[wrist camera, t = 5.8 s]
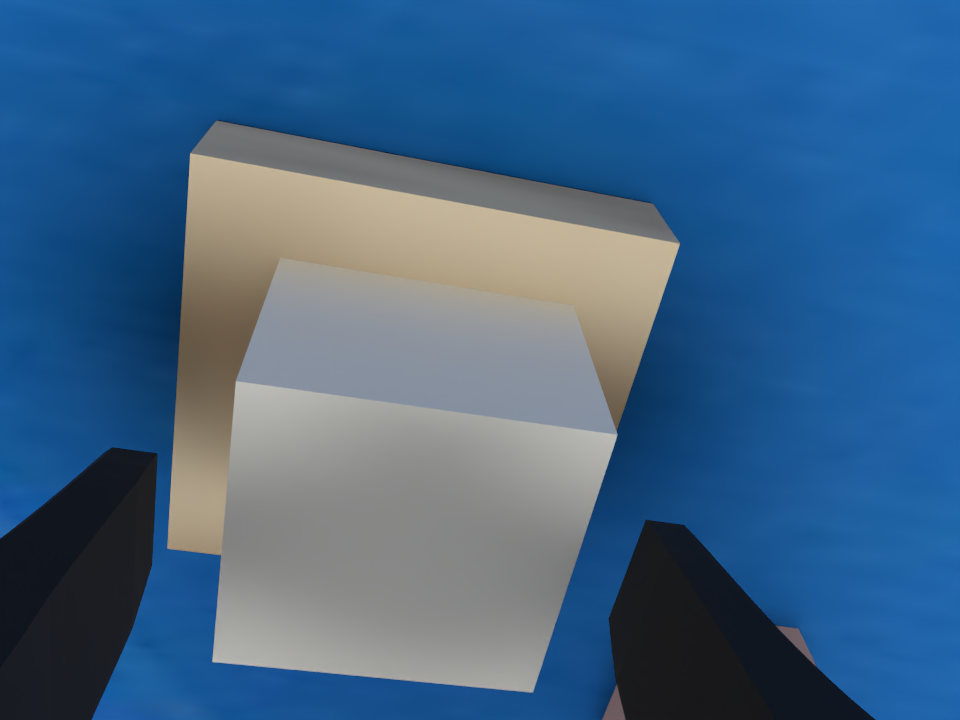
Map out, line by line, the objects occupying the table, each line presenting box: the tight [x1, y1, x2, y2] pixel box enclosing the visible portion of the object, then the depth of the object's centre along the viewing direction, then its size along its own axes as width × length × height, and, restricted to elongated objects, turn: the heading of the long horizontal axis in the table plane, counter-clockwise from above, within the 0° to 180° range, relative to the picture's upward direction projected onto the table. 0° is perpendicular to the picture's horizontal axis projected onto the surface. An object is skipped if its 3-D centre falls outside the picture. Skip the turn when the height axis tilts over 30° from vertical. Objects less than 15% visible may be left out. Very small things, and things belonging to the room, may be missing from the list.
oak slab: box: [167, 121, 680, 555], centre depth 17 cm, size 8×8×2 cm
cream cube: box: [212, 258, 618, 693], centre depth 14 cm, size 5×5×4 cm
